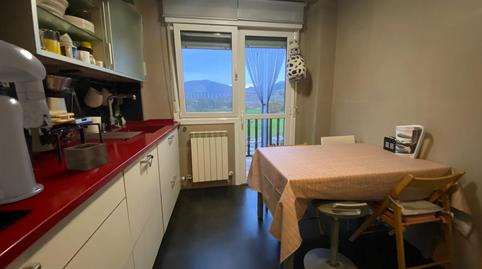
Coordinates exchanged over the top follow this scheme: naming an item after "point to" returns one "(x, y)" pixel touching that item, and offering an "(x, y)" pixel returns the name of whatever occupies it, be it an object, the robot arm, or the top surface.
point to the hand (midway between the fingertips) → (41, 144)
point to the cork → (38, 141)
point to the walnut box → (86, 156)
